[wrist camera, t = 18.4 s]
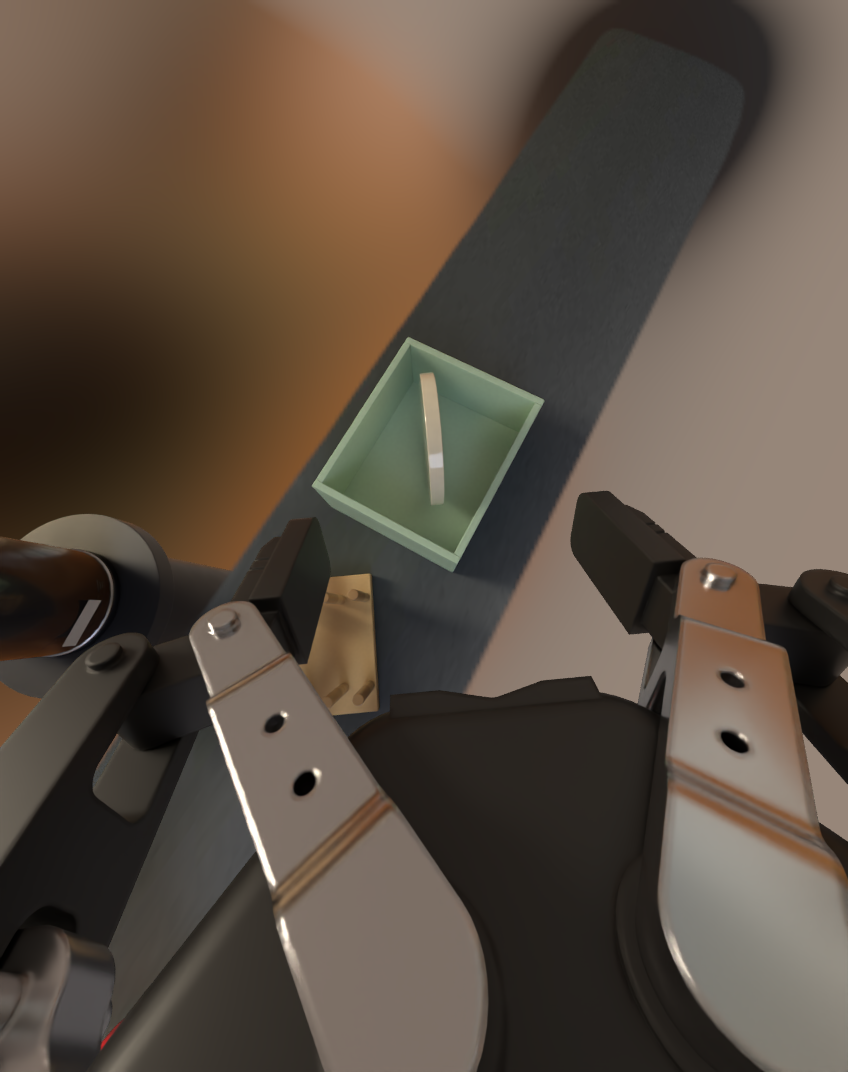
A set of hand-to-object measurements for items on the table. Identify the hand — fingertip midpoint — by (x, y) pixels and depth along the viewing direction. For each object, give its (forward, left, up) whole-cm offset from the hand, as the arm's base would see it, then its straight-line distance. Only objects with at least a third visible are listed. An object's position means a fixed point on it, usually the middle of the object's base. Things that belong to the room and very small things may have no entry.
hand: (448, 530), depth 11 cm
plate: (-1, +11, -15) cm, 18 cm away
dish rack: (-9, -6, -21) cm, 23 cm away
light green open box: (-1, +11, -21) cm, 23 cm away
